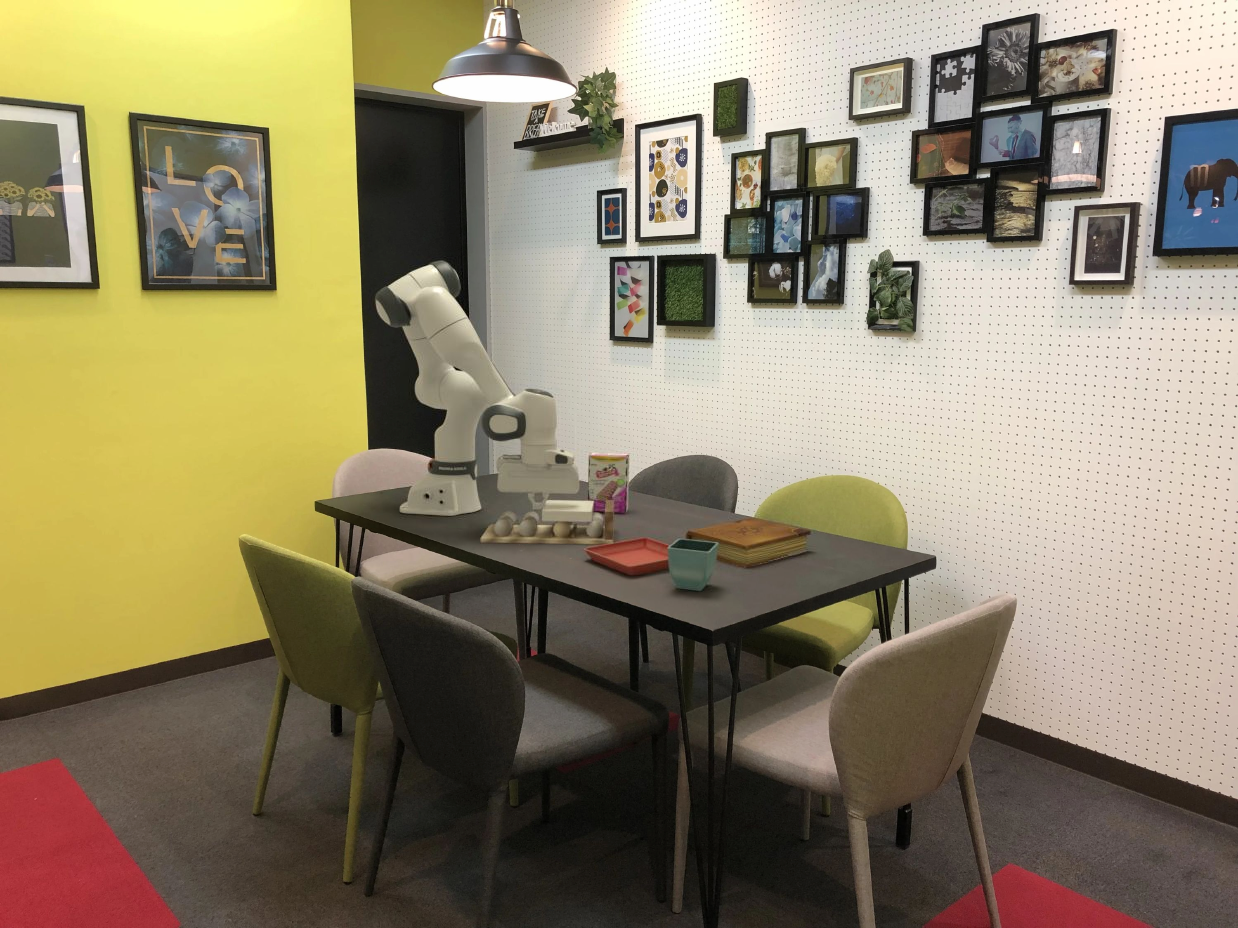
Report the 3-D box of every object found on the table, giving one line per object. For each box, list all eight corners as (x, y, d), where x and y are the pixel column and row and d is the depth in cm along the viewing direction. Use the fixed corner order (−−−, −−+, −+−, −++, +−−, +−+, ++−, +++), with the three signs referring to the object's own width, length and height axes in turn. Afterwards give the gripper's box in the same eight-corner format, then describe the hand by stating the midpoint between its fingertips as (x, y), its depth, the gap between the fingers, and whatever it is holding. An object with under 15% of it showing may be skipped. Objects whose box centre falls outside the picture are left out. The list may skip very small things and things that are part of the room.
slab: (541, 520, 225) (542, 510, 225) (546, 509, 238) (546, 500, 238) (591, 521, 225) (591, 511, 225) (593, 510, 238) (593, 500, 238)
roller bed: (480, 542, 225) (480, 509, 224) (489, 528, 240) (489, 497, 239) (612, 544, 225) (613, 512, 224) (613, 530, 240) (614, 499, 239)
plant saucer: (629, 580, 196) (629, 565, 196) (582, 561, 211) (582, 547, 210) (694, 567, 207) (695, 553, 206) (645, 550, 221) (645, 537, 221)
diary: (749, 539, 235) (750, 517, 234) (809, 554, 221) (810, 530, 220) (685, 553, 220) (686, 529, 219) (745, 569, 206) (746, 544, 205)
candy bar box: (587, 512, 260) (587, 454, 257) (589, 509, 265) (590, 452, 262) (627, 514, 259) (627, 456, 256) (628, 510, 264) (629, 453, 261)
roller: (553, 537, 227) (553, 521, 226) (557, 527, 238) (557, 511, 237) (569, 537, 227) (569, 521, 226) (572, 527, 238) (572, 512, 237)
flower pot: (718, 583, 194) (719, 541, 192) (708, 595, 185) (709, 551, 184) (677, 579, 196) (678, 537, 195) (665, 590, 188) (666, 547, 187)
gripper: (494, 456, 226) (494, 511, 228) (578, 457, 226) (578, 513, 228) (498, 452, 232) (498, 506, 235) (580, 454, 232) (579, 508, 234)
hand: (538, 510), depth 231 cm, fingers closed
